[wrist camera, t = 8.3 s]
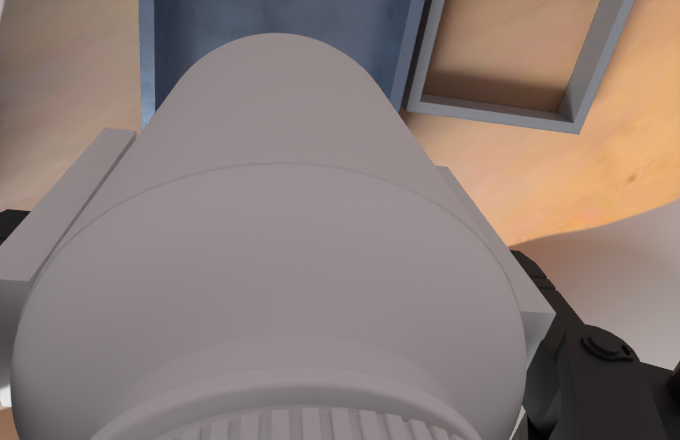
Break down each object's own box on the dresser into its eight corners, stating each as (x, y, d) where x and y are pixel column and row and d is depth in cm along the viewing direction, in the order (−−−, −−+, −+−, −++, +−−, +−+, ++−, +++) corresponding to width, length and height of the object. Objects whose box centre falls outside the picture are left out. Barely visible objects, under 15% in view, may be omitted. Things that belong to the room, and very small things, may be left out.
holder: (398, 101, 37) (406, 111, 35) (447, -115, 31) (460, -119, 28) (562, 123, 39) (579, 134, 37) (639, -72, 33) (665, -73, 31)
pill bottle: (384, 8, 16) (921, 365, 3) (396, 225, 20) (630, 786, 7) (130, 42, 15) (-695, 638, 2) (196, 255, 19) (33, 909, 6)
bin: (158, 139, 36) (143, 166, 32) (156, -120, 29) (135, -130, 25) (369, 163, 39) (380, 191, 35) (417, -67, 32) (440, -67, 27)
